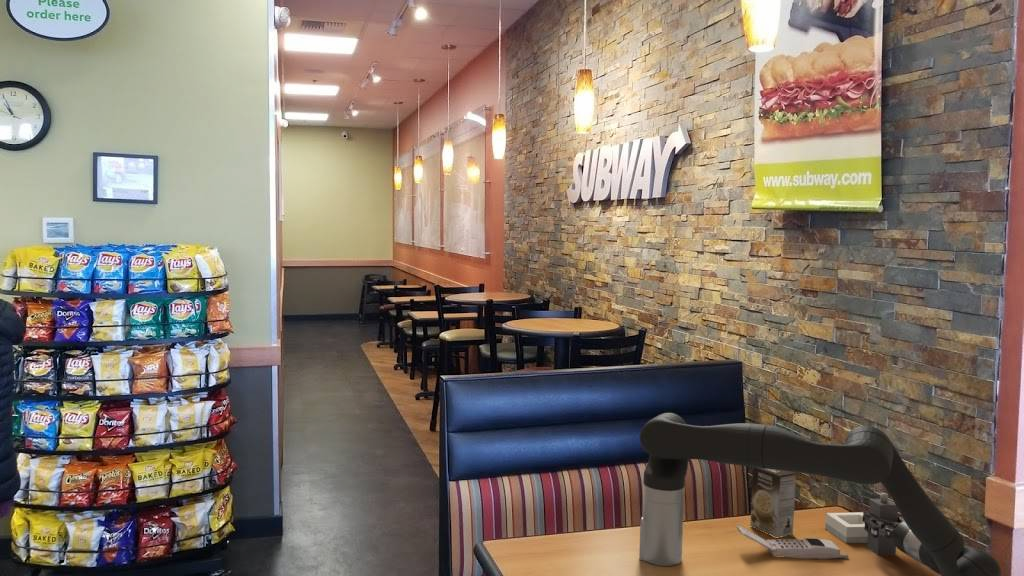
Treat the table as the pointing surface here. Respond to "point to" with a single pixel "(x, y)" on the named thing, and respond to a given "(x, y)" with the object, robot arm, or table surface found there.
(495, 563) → the table surface
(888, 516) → the plug
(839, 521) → the socket block
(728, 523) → the table surface
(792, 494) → the coffee box
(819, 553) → the mobile phone
